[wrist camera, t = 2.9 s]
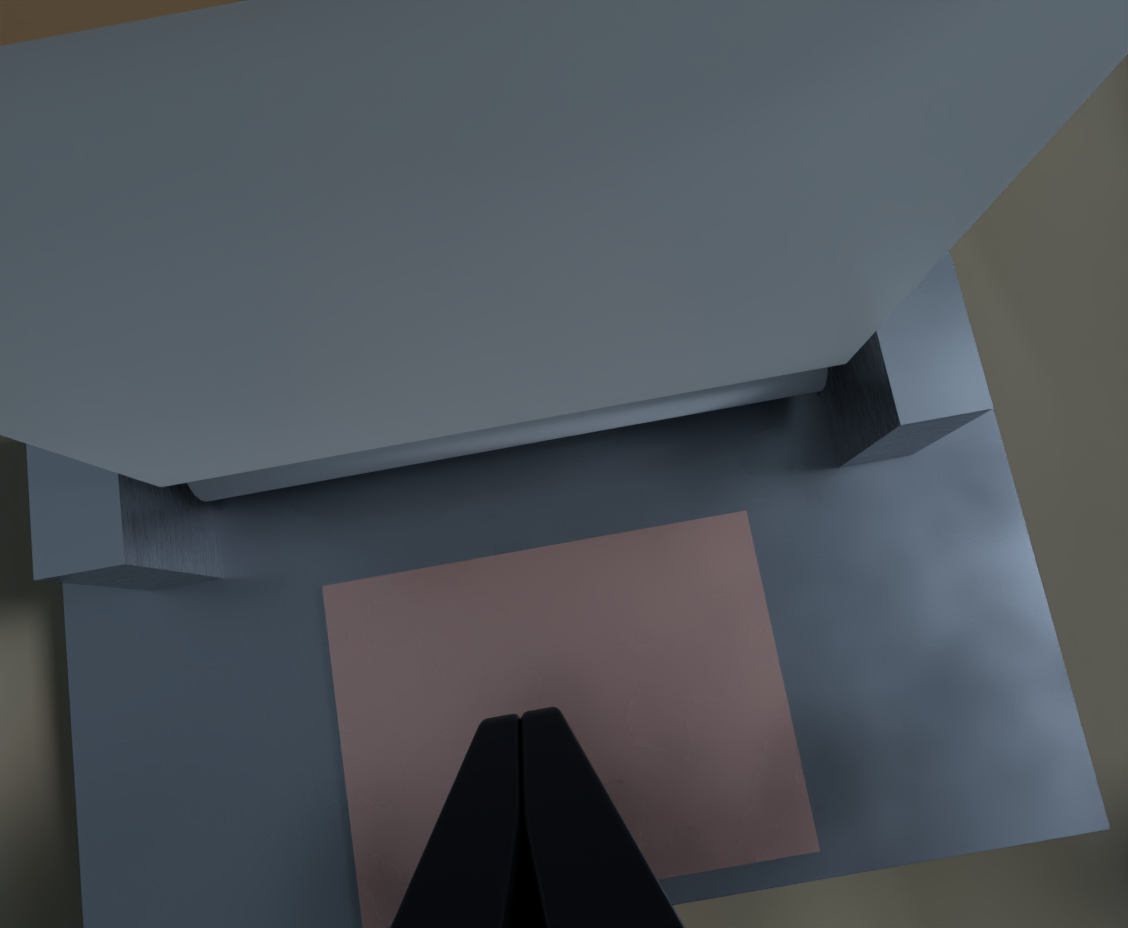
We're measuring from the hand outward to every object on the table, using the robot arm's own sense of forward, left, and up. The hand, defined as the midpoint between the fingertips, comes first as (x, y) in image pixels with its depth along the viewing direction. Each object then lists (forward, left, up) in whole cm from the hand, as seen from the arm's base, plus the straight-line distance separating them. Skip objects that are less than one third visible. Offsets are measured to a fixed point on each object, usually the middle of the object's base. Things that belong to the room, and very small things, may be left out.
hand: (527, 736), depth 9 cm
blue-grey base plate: (+5, +2, -8) cm, 9 cm away
